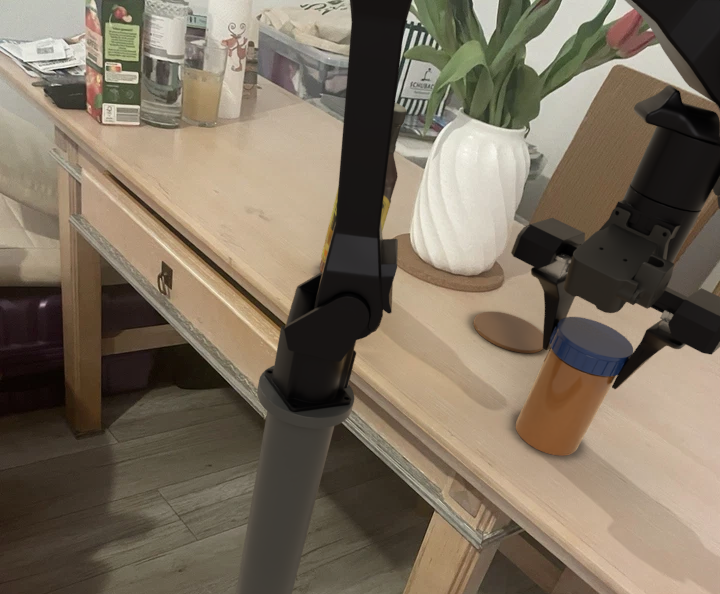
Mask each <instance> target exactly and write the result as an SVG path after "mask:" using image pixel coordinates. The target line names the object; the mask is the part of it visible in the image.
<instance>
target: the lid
mask: <svg viewBox="0 0 720 594" xmlns="http://www.w3.org/2000/svg"><path fill="white" fill-rule="evenodd" d="M549 344H550V347H551V349H552V350H553V352H554V353H555V354H556V355H557V356H558V357H559V358H560V359H562V360H563V361H564V362H566V363H567V364H569V365H571V366H573V367H575V368H577V369H579V370H581V371H584V372H587V373H590V374H594V375H599V376H616V375H618V374H619V372H620V371H621V369H622V368H623V366H624V365H625V364H626V362H627V361H628V359H629V358H630V357H631V355H632V354H633V352H634V346H633V344H632V343H631V341H630V340H629V339H628V338H627V337H626V336H624V335H623V334H622V333H620V332H619V331H618V330H616V329H614V328H613V327H611V326H609V325H606V324H604V323H602V322H600V321H596V320H593V319H590V318H586V317H581V316H566V318H563V319H561V320H560V321H559V322H558V324H557V326H556V327H555V329H554V331H553V333H552V335H551V337H550V343H549ZM616 377H617V376H616Z"/></svg>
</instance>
